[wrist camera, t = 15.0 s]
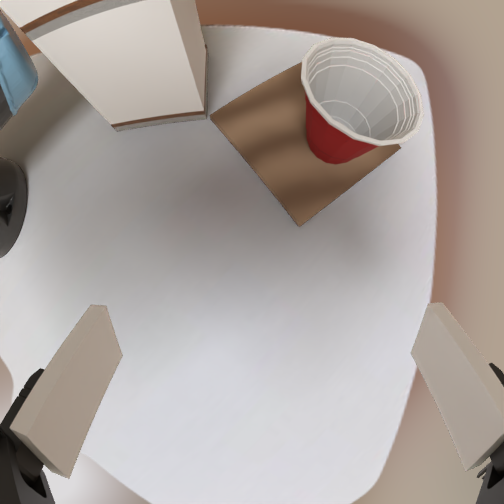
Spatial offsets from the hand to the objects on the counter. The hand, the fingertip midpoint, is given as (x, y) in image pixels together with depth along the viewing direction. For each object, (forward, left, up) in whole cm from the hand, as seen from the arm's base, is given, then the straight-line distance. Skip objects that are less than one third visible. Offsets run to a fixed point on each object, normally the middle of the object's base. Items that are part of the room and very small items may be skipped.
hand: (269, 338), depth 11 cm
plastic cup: (-8, +17, -19) cm, 27 cm away
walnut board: (-11, +16, -20) cm, 28 cm away
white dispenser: (-27, +6, -20) cm, 34 cm away
